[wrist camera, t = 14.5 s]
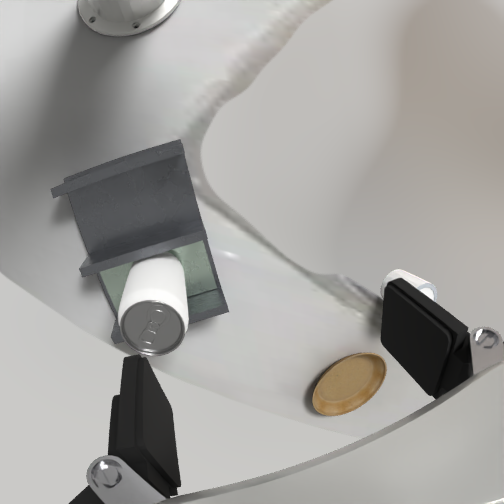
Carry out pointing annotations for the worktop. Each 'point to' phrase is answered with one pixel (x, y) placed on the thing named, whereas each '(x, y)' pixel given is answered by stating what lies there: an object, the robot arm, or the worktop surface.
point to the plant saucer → (349, 384)
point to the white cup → (413, 280)
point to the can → (154, 305)
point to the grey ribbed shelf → (144, 225)
